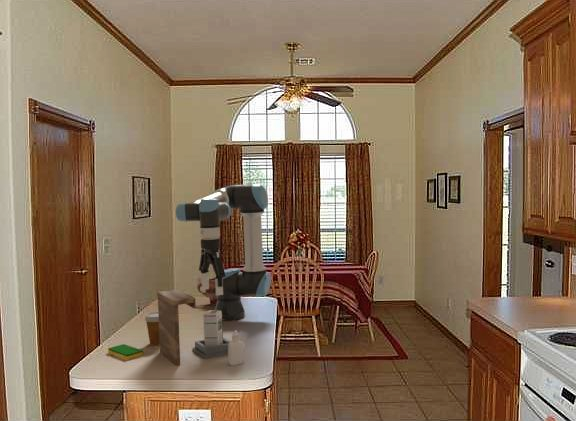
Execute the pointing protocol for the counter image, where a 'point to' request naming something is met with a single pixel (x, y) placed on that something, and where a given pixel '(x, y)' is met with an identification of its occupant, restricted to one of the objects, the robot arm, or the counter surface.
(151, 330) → the disposable coffee cup
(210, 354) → the socket
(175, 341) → the brown l-shaped bracket
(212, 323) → the syrup box
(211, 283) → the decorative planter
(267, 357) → the counter surface
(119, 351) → the dish sponge
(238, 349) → the eye dropper bottle
